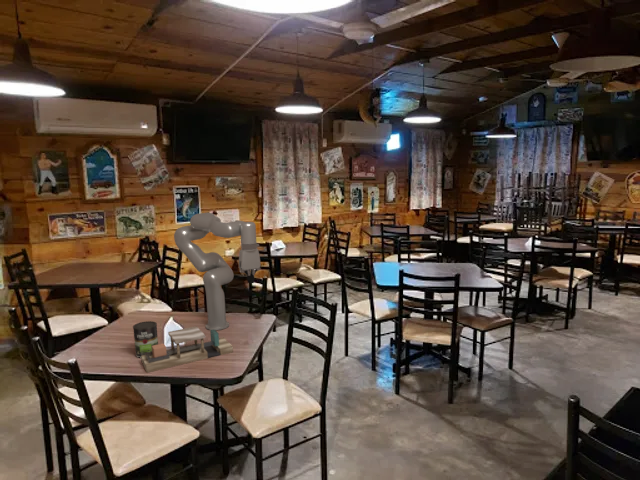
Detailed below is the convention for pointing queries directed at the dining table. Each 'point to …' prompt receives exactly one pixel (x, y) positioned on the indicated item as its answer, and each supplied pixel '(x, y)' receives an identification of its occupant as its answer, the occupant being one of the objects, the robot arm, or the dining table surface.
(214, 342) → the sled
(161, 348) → the block
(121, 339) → the dining table surface
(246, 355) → the dining table surface
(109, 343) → the dining table surface
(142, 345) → the coffee can
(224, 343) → the tunnel
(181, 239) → the robot arm
